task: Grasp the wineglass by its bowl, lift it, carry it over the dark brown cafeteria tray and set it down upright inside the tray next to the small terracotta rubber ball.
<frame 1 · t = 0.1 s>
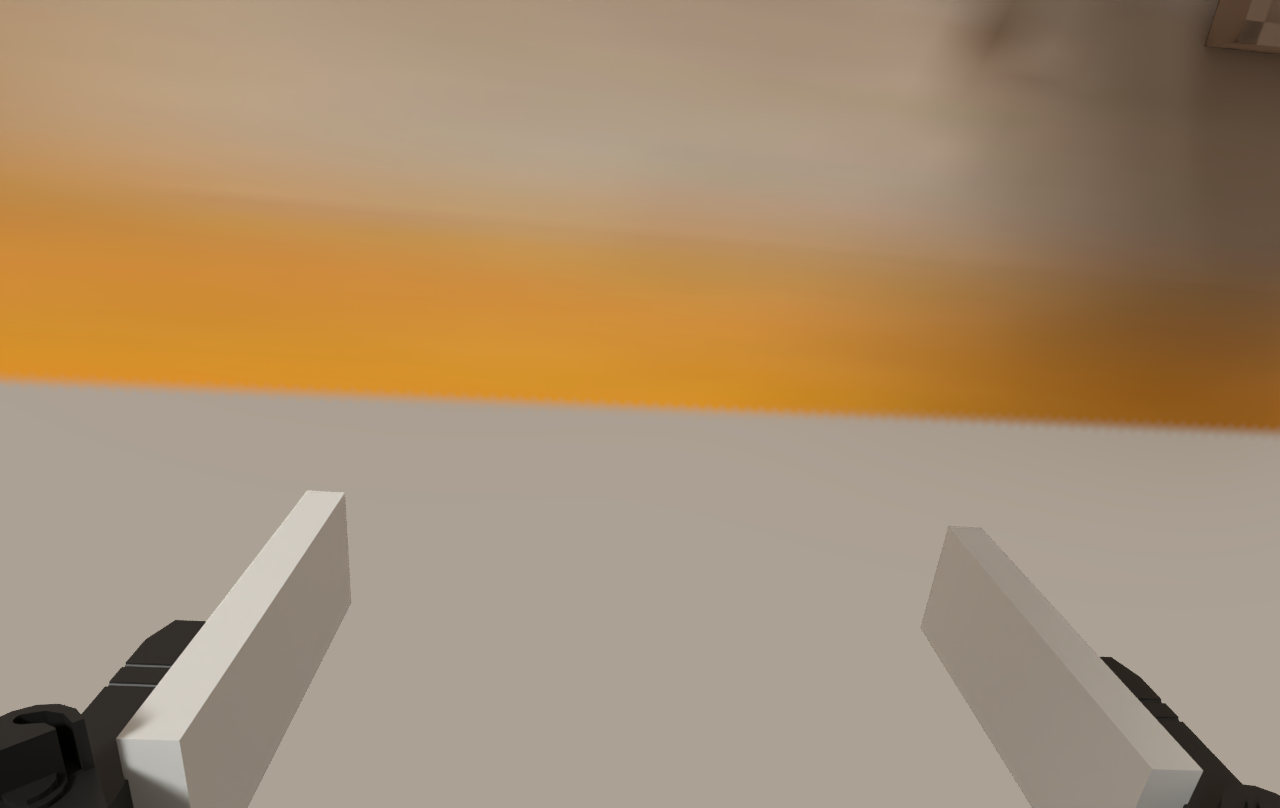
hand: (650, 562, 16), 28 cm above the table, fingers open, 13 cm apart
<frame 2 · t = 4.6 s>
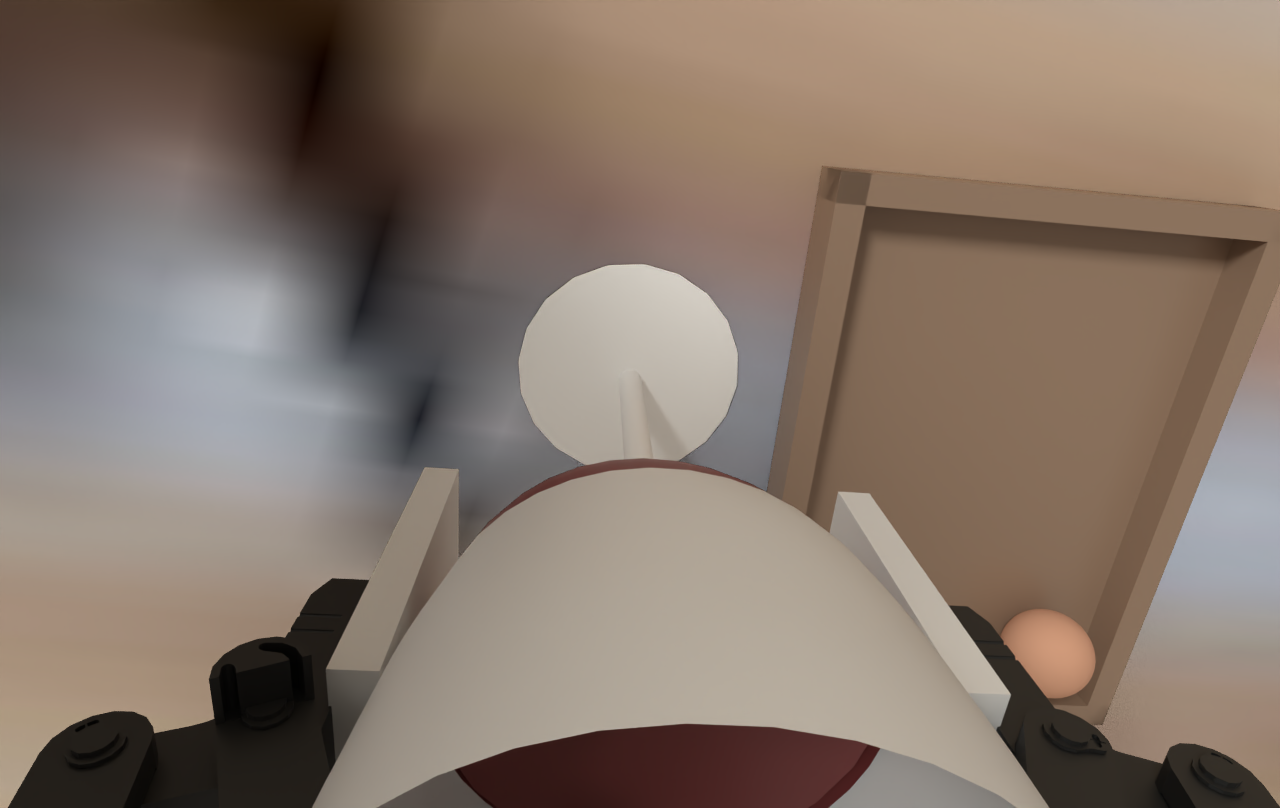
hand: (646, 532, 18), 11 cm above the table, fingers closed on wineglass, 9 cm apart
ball: (1023, 625, 32), point 1 cm above the table, touching tray
tray: (966, 466, 30), on the table
wineglass: (628, 371, 28), on the table, touching gripper
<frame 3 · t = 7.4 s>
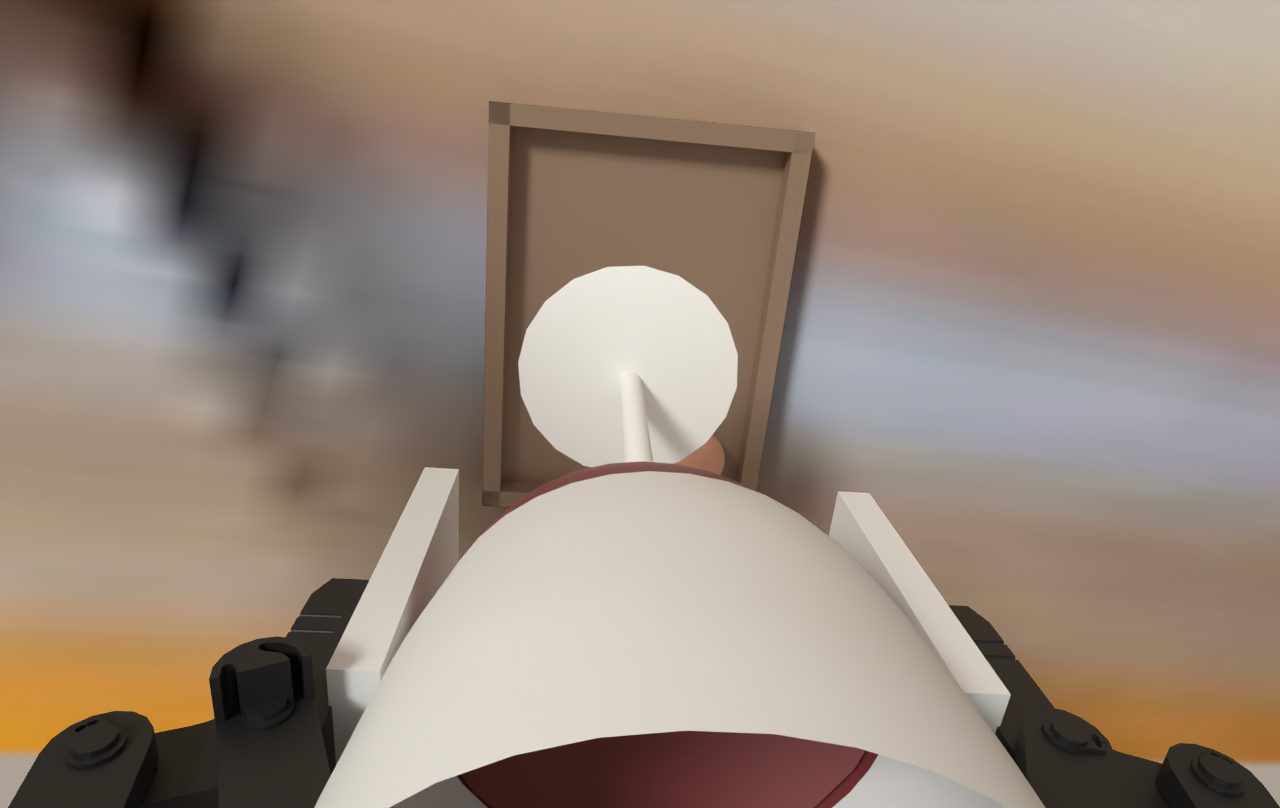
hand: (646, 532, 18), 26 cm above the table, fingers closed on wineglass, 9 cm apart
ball: (690, 446, 45), point 1 cm above the table, touching tray
tray: (633, 323, 43), on the table
wineglass: (628, 373, 28), point 14 cm above the table, touching gripper
when the fingers open (14 cm above the table, at t = 10.3 s): wineglass drops 2 cm, resting on tray.
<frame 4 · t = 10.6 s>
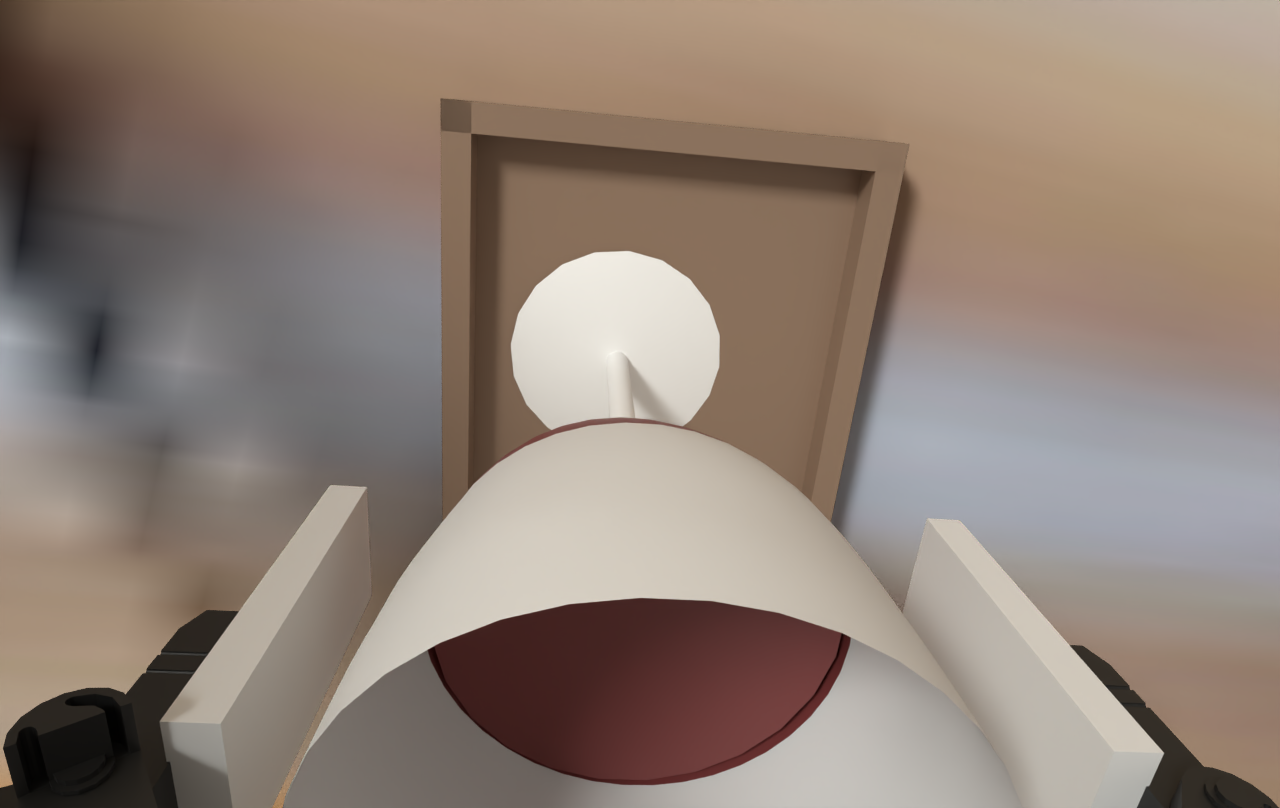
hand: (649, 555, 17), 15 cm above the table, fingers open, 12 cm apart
tray: (646, 401, 31), on the table
wineglass: (616, 354, 30), point 1 cm above the table, touching tray
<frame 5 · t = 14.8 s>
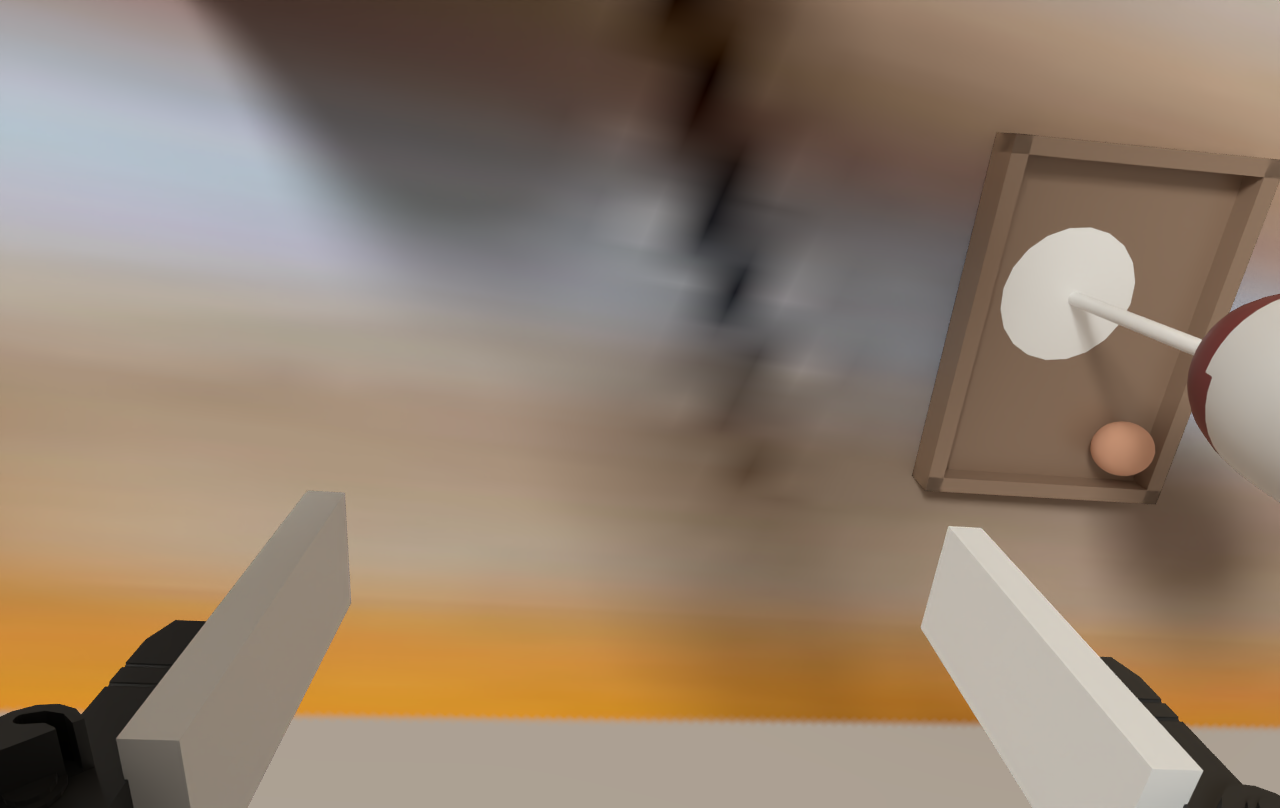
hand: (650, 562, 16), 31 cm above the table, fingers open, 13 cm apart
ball: (1105, 437, 50), point 1 cm above the table, touching tray
tray: (1072, 327, 48), on the table
wineglass: (1065, 295, 46), point 1 cm above the table, touching tray
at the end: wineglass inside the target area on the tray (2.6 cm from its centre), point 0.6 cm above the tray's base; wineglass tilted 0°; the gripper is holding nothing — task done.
